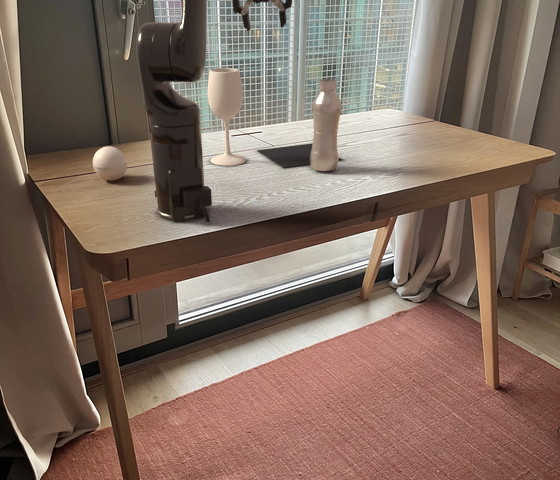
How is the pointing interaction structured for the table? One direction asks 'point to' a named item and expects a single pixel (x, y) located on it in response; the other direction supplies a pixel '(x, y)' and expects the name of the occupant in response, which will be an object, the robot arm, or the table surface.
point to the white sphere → (109, 163)
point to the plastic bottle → (325, 127)
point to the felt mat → (290, 155)
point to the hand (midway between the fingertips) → (265, 28)
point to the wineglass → (225, 106)
